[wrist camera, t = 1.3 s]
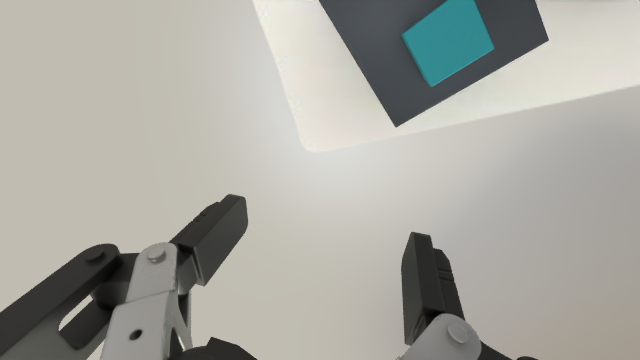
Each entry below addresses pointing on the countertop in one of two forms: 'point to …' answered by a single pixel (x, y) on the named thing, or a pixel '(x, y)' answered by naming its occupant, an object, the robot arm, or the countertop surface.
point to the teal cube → (447, 39)
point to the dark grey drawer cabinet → (397, 62)
